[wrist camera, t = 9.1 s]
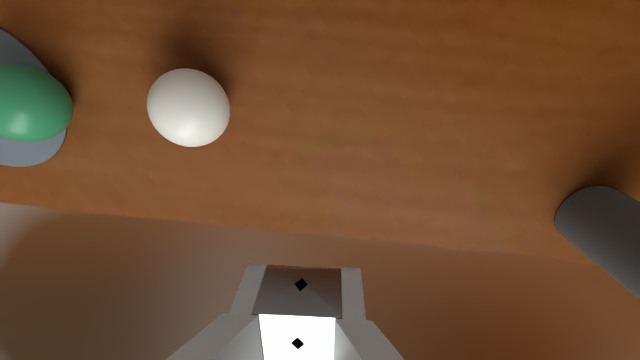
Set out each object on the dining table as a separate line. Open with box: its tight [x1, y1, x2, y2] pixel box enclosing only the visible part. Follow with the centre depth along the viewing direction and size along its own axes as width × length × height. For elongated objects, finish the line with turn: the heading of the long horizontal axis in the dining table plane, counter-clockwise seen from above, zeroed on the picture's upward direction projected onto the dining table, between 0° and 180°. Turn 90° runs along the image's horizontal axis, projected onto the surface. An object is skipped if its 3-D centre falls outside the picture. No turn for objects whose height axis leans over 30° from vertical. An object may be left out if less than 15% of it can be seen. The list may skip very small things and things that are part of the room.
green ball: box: [0, 64, 73, 142], centre depth 22 cm, size 6×6×6 cm
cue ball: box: [147, 68, 230, 147], centre depth 22 cm, size 6×6×6 cm
